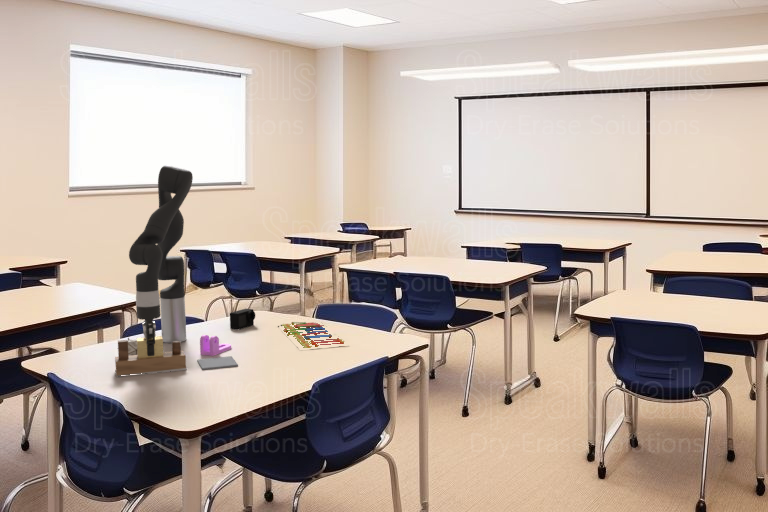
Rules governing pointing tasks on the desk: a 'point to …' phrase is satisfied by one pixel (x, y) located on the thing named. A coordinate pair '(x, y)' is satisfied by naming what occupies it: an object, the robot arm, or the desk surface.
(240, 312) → the digital camera
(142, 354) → the lever cap
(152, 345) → the robot arm
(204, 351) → the bracket
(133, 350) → the game die
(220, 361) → the mat
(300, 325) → the gear board
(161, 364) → the plane body
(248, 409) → the desk surface
